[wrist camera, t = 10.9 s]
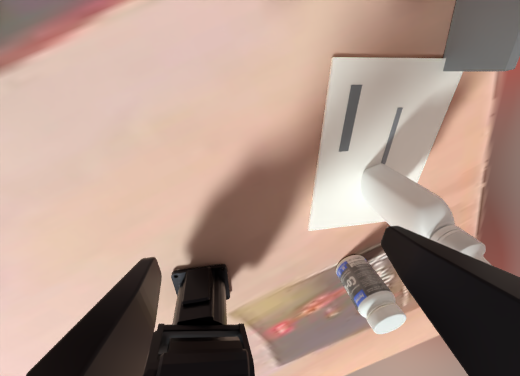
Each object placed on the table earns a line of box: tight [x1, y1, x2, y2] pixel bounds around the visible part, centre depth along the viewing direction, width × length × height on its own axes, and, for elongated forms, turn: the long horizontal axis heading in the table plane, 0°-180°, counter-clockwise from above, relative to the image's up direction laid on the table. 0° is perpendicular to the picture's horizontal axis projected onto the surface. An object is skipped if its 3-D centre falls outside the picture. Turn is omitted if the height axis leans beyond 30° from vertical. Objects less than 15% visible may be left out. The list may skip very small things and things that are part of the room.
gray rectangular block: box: [443, 0, 520, 71], centre depth 15 cm, size 8×1×5 cm, turn 10°
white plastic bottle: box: [361, 163, 491, 265], centre depth 19 cm, size 4×6×12 cm
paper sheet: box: [308, 57, 463, 231], centre depth 22 cm, size 18×13×1 cm
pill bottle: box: [336, 255, 406, 334], centre depth 27 cm, size 5×5×8 cm
